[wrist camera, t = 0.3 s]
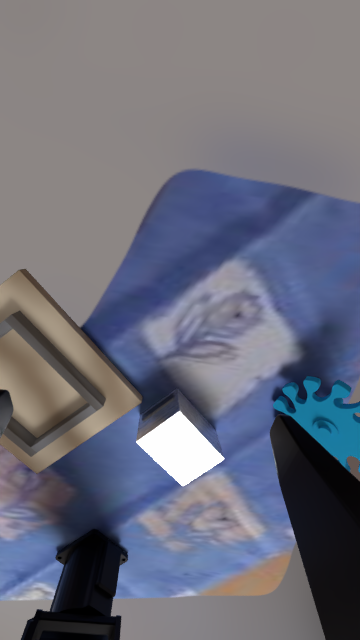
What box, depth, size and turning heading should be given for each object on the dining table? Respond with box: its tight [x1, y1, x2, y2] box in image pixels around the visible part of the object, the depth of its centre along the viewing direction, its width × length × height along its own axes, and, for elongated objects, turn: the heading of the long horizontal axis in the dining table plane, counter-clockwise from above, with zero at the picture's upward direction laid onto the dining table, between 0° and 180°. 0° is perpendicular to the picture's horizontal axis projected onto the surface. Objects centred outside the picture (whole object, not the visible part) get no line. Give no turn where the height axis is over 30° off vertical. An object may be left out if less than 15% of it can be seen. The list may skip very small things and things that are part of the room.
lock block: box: [136, 388, 224, 486], centre depth 25 cm, size 5×7×4 cm
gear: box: [273, 376, 360, 472], centre depth 25 cm, size 11×6×10 cm
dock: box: [0, 269, 143, 474], centre depth 23 cm, size 14×16×2 cm
